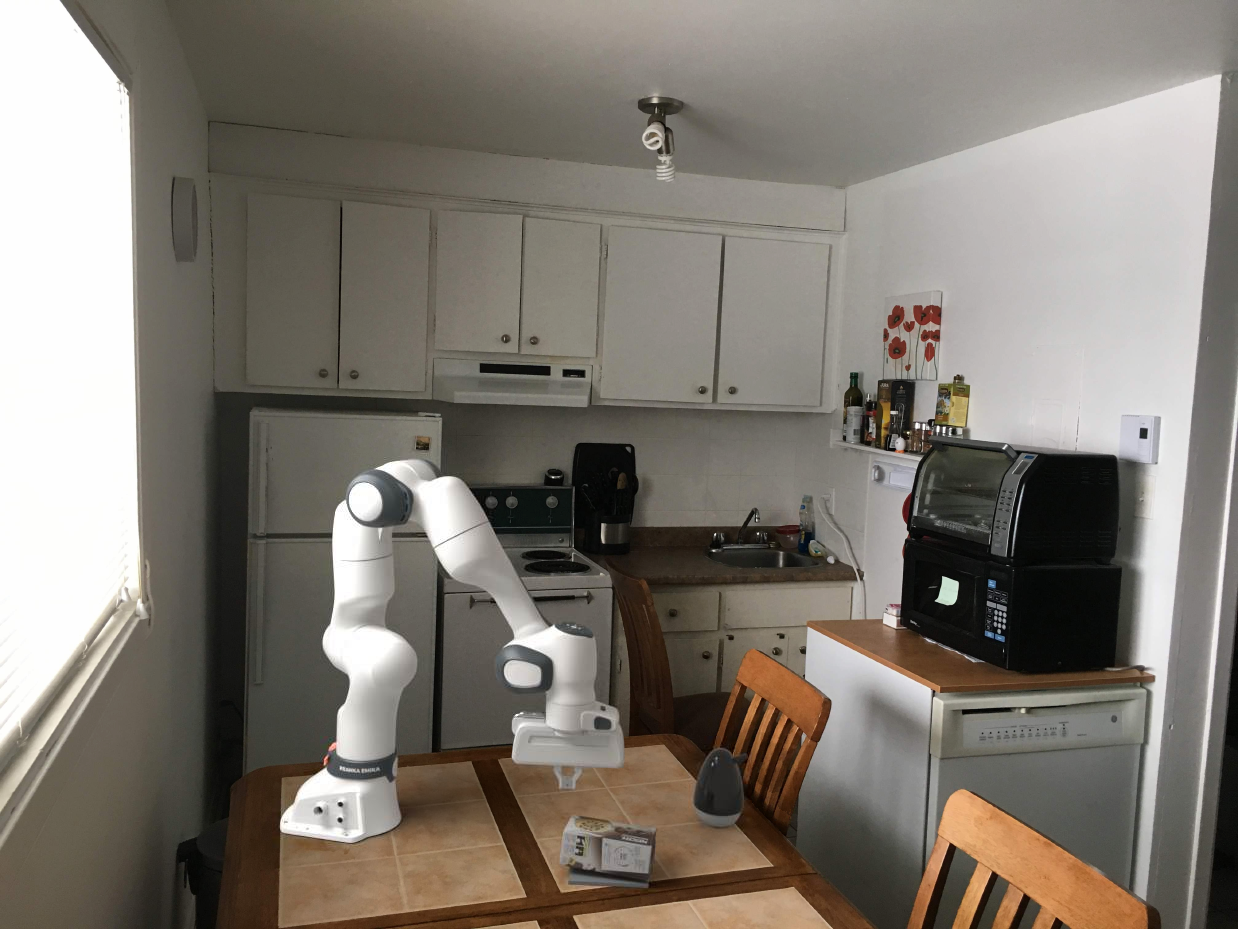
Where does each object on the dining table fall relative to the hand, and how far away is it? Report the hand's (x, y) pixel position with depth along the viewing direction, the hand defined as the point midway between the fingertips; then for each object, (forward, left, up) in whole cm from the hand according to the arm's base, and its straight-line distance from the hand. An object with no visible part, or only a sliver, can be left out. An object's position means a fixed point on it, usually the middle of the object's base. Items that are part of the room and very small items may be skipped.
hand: (567, 788), depth 172 cm
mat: (+8, 0, -14) cm, 17 cm away
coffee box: (0, 0, -10) cm, 10 cm away
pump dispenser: (+30, +20, -15) cm, 39 cm away
